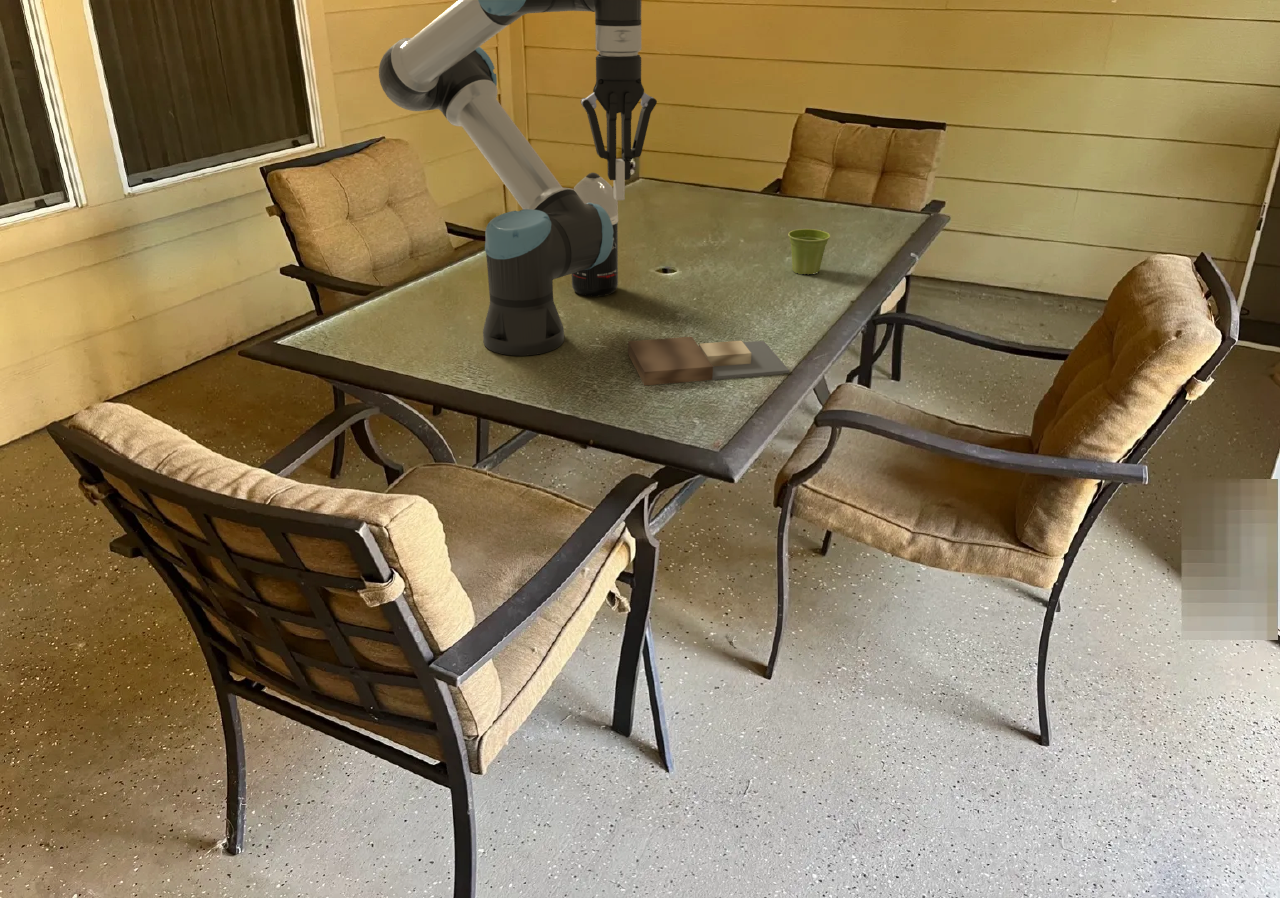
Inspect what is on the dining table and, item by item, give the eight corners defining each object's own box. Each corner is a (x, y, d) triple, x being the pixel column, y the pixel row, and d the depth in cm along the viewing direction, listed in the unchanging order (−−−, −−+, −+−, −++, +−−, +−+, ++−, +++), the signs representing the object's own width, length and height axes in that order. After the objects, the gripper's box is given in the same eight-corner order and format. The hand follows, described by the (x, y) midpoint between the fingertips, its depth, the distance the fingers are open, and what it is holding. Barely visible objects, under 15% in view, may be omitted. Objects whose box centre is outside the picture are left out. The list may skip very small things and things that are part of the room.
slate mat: (712, 379, 157) (712, 376, 157) (691, 349, 169) (691, 346, 169) (789, 373, 159) (789, 370, 159) (763, 343, 171) (763, 340, 171)
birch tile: (707, 366, 160) (707, 356, 159) (698, 353, 165) (698, 343, 164) (750, 363, 162) (751, 353, 161) (740, 350, 167) (741, 340, 166)
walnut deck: (644, 385, 155) (644, 372, 153) (627, 353, 167) (628, 341, 165) (712, 379, 157) (712, 366, 156) (691, 349, 169) (691, 336, 168)
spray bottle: (628, 290, 198) (628, 172, 186) (594, 301, 191) (592, 180, 179) (595, 279, 204) (593, 165, 192) (561, 290, 197) (557, 172, 185)
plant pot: (808, 280, 204) (812, 242, 200) (776, 270, 211) (779, 233, 206) (834, 272, 210) (838, 235, 206) (802, 262, 216) (806, 226, 212)
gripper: (582, 56, 145) (586, 205, 156) (662, 55, 147) (659, 201, 159) (575, 51, 151) (579, 194, 163) (652, 50, 154) (650, 191, 165)
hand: (619, 198), depth 161 cm, fingers closed
